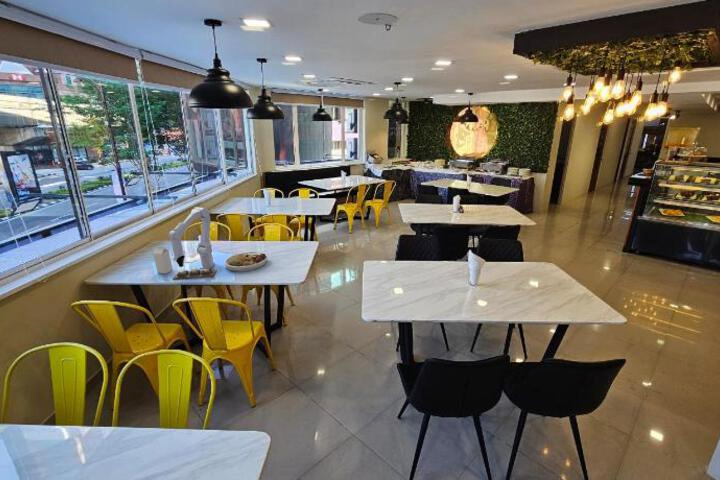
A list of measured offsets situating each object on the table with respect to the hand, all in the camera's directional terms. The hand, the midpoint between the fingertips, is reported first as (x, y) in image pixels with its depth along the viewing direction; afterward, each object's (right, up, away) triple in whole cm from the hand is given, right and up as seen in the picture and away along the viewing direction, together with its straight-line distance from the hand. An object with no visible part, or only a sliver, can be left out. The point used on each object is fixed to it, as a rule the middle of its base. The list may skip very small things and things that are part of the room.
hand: (181, 266), depth 242 cm
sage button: (0, -6, +2) cm, 6 cm away
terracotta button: (+16, -5, +3) cm, 17 cm away
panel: (+8, -6, +4) cm, 11 cm away
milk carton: (-18, -5, +12) cm, 22 cm away
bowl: (+39, -1, +20) cm, 43 cm away
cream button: (+8, -4, +2) cm, 9 cm away
